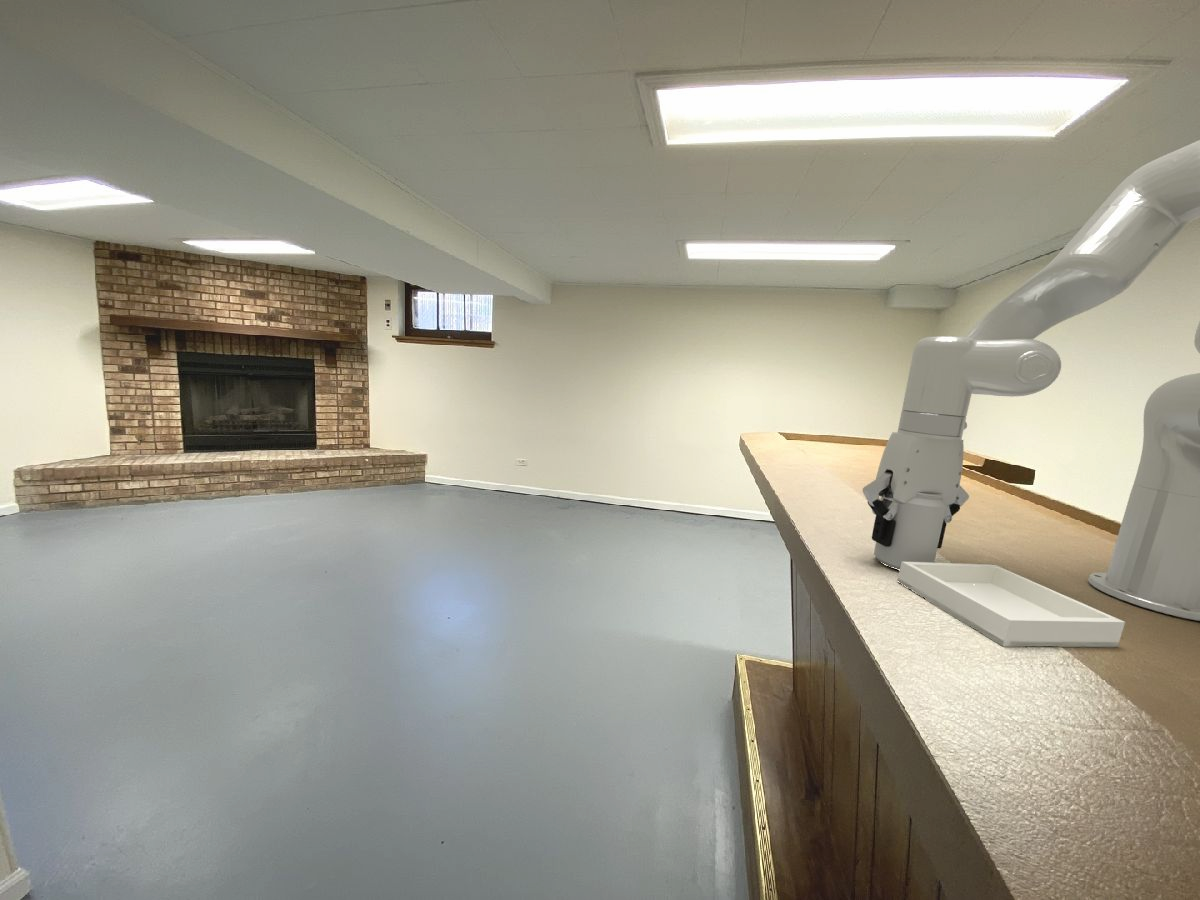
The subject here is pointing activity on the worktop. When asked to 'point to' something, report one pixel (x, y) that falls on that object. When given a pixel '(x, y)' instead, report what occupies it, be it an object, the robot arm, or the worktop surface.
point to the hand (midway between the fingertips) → (905, 543)
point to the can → (914, 531)
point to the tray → (1010, 606)
